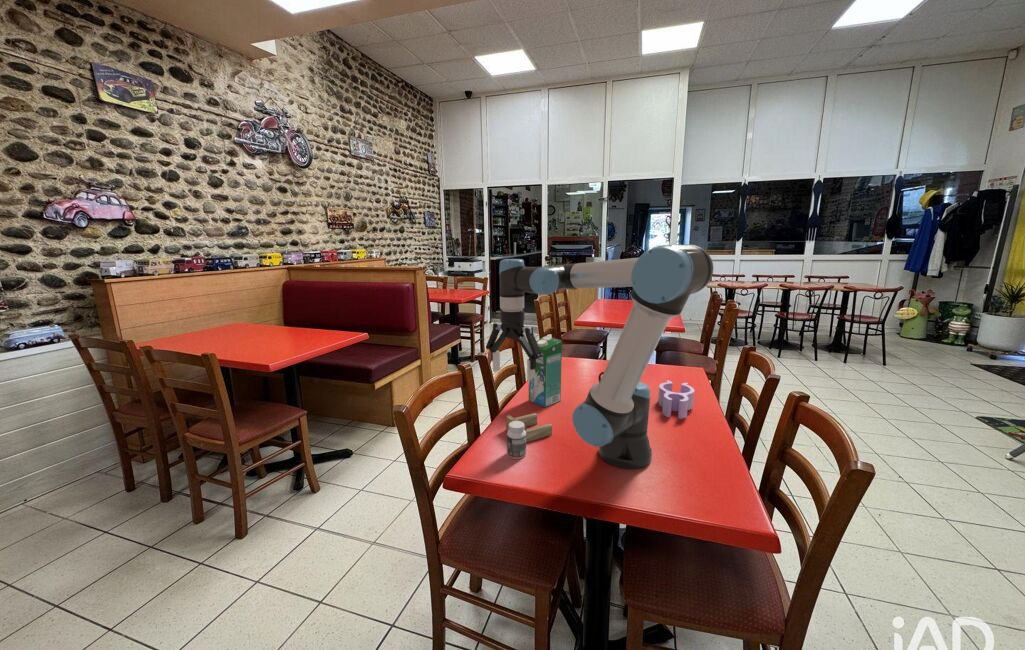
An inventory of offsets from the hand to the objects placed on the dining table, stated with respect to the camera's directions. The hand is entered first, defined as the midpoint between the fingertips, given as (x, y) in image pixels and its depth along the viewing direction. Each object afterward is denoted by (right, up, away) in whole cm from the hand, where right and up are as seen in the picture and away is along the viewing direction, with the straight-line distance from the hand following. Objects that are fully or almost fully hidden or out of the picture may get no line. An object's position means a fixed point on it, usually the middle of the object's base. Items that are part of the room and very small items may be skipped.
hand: (513, 374), depth 130 cm
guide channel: (+6, -20, +5) cm, 21 cm away
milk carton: (+12, -14, +30) cm, 35 cm away
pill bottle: (+1, -23, -9) cm, 25 cm away
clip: (+61, -16, +24) cm, 68 cm away
